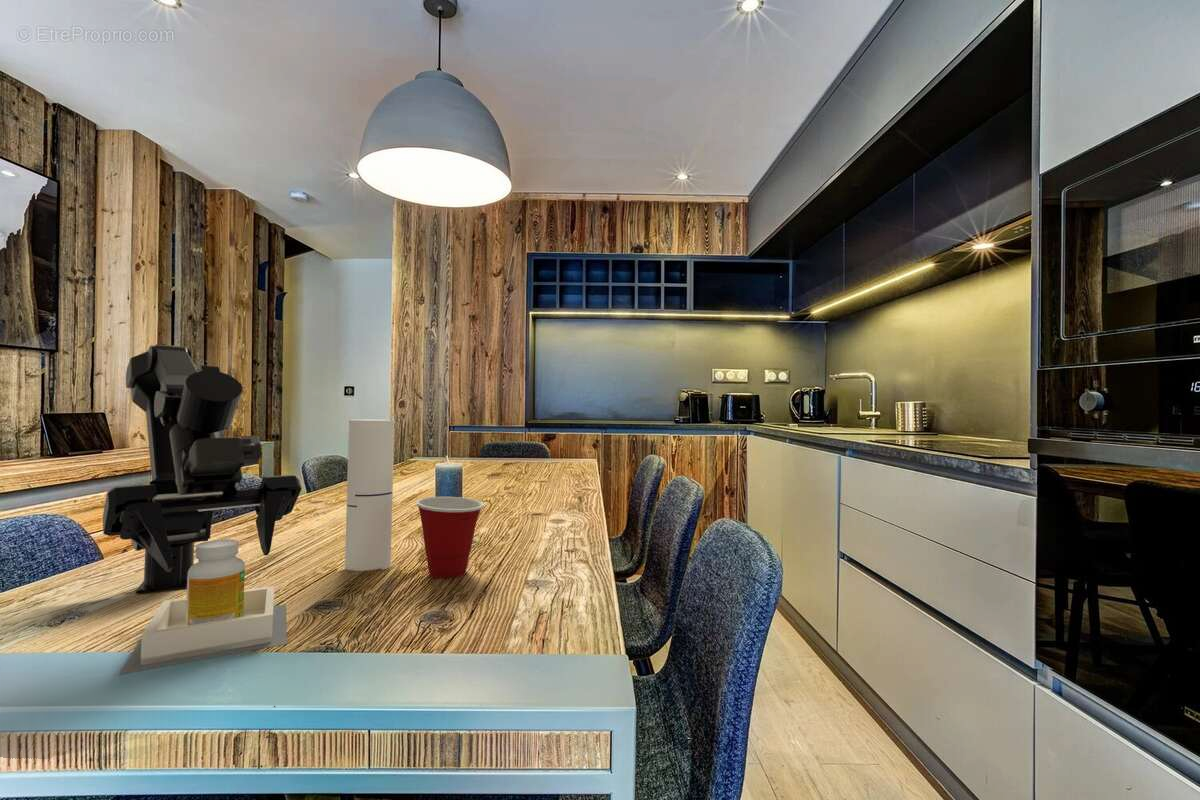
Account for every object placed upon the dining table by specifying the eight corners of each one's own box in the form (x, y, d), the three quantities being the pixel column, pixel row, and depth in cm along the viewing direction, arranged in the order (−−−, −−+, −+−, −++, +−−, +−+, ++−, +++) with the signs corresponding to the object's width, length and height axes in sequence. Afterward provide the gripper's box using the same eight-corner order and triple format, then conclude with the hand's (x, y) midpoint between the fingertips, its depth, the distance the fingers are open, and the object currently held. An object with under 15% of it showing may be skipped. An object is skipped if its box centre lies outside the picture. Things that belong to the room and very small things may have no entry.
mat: (149, 628, 63) (149, 624, 63) (286, 608, 70) (286, 604, 70) (117, 679, 51) (118, 674, 51) (286, 648, 58) (286, 643, 58)
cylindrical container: (379, 574, 85) (384, 420, 86) (336, 573, 85) (340, 419, 86) (397, 561, 92) (401, 420, 93) (357, 561, 93) (361, 419, 93)
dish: (162, 626, 62) (163, 600, 62) (273, 609, 68) (274, 586, 68) (140, 665, 53) (141, 634, 53) (271, 641, 58) (272, 614, 59)
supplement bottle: (248, 628, 61) (251, 543, 61) (190, 642, 57) (193, 551, 57) (237, 615, 64) (239, 535, 65) (181, 627, 60) (184, 542, 61)
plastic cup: (464, 586, 80) (466, 507, 80) (400, 581, 82) (402, 504, 82) (493, 566, 90) (494, 496, 91) (435, 562, 92) (437, 494, 93)
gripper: (110, 412, 57) (119, 531, 49) (298, 414, 71) (329, 507, 63) (99, 478, 62) (106, 595, 54) (277, 468, 76) (302, 560, 68)
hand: (221, 560), depth 60 cm, fingers open, 9 cm apart
